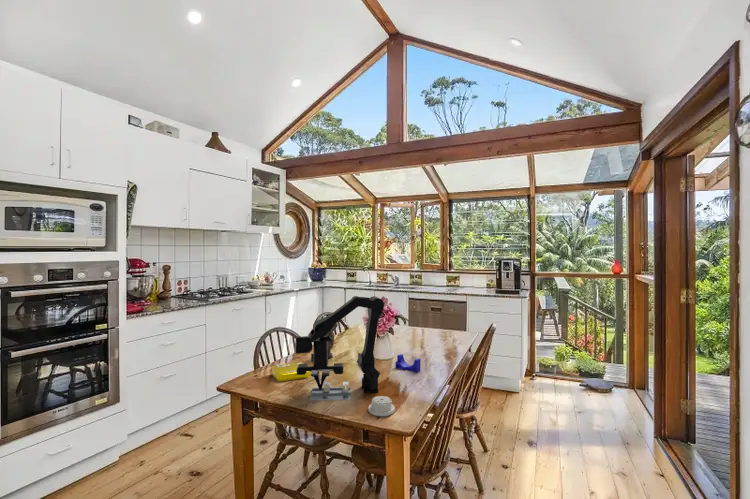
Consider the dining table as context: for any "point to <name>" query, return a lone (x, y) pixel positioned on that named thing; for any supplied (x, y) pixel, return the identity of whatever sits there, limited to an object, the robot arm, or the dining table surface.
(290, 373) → the element tile
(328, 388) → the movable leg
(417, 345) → the dining table surface
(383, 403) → the mechanical component
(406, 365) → the blue u-shaped bracket
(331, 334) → the mortar and pestle
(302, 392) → the dining table surface
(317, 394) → the board
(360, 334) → the dining table surface
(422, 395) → the dining table surface
